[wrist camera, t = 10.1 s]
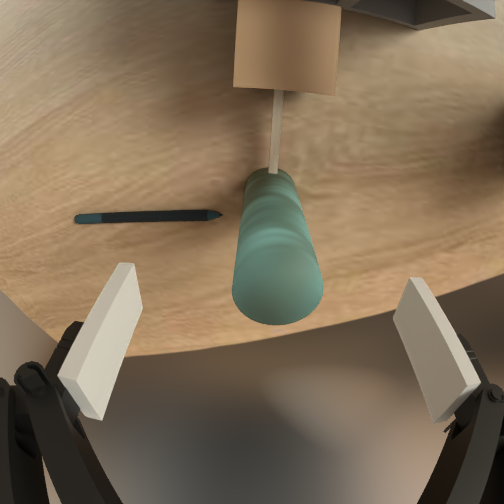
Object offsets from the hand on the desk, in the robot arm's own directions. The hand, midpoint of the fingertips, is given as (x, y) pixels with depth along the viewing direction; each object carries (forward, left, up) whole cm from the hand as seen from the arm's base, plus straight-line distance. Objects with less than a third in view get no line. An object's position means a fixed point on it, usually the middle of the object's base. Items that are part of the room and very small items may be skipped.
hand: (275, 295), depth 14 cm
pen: (-12, -3, -15) cm, 20 cm away
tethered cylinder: (0, +6, -15) cm, 16 cm away
